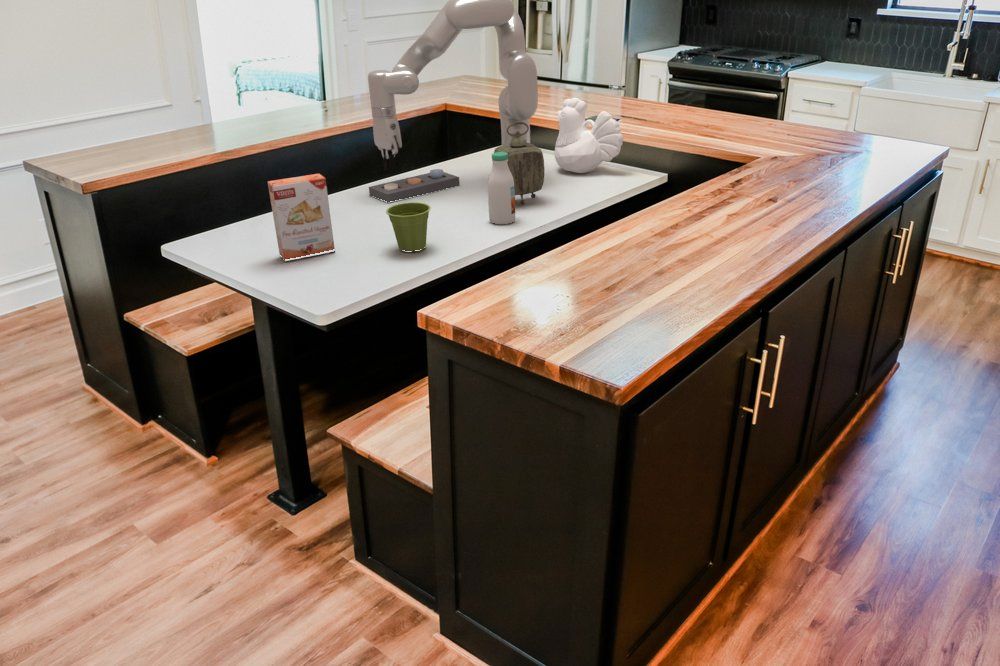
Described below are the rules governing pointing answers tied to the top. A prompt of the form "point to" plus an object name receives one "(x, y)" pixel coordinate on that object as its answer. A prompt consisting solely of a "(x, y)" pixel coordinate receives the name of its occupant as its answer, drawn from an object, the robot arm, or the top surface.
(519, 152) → the tabletop clock
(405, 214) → the plant pot
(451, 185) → the button panel
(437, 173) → the slate blue button
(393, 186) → the cream button
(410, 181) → the terracotta button
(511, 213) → the milk bottle
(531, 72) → the robot arm
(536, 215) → the top surface
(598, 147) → the decorative rooster
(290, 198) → the cracker box
